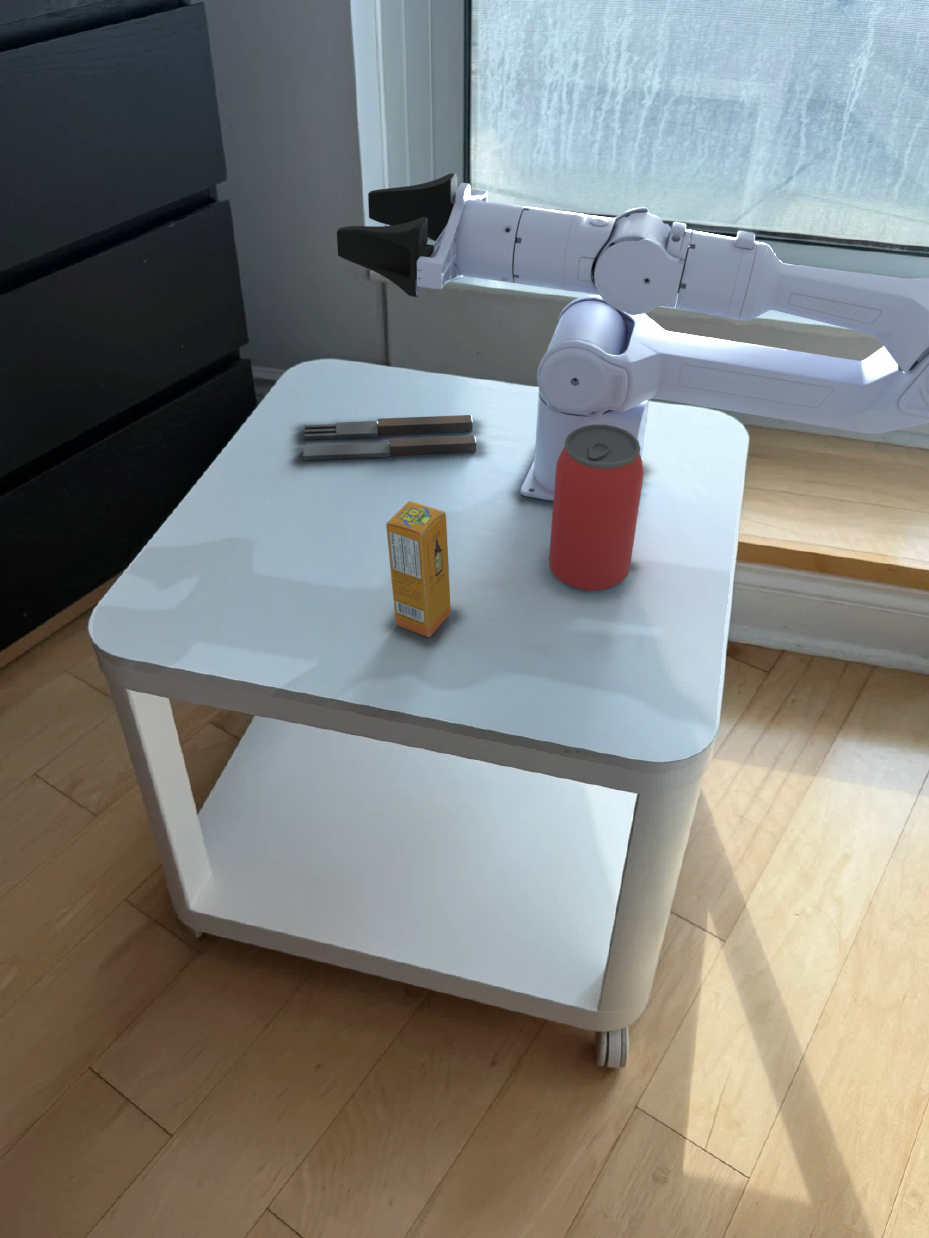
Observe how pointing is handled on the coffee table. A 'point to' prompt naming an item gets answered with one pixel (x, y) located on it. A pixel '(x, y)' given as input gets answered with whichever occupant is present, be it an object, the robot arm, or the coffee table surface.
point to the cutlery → (397, 444)
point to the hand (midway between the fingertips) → (354, 222)
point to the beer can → (595, 507)
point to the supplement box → (419, 567)
